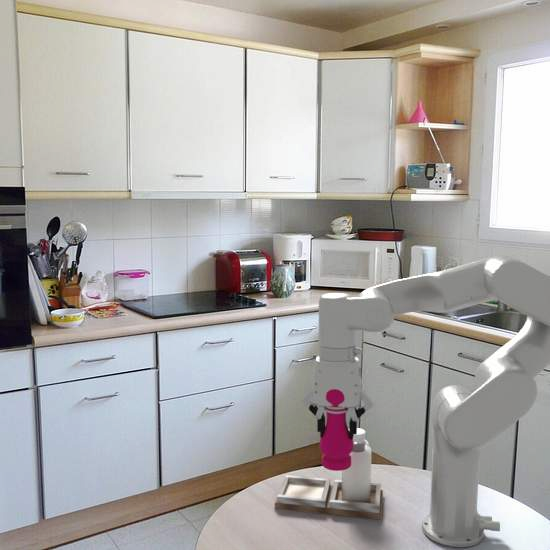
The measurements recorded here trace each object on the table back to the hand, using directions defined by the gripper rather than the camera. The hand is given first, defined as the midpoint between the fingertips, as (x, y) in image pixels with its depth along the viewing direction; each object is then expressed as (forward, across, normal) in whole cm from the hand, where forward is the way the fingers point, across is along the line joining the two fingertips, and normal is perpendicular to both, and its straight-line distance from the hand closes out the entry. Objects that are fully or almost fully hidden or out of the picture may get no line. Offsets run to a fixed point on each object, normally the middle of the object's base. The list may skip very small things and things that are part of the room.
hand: (337, 435), depth 133 cm
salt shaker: (+19, -3, -10) cm, 22 cm away
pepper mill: (+7, 0, 0) cm, 7 cm away
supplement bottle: (+21, -2, -23) cm, 31 cm away
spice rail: (+21, +3, -10) cm, 23 cm away
